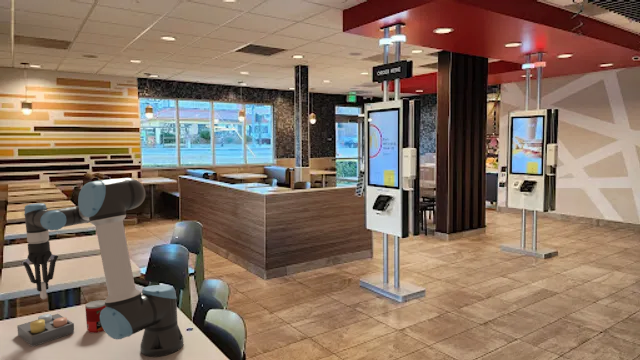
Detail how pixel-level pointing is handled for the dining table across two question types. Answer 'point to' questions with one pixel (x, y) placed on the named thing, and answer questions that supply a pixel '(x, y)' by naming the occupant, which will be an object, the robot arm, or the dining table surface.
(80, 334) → the dining table surface
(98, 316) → the canned food
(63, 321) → the salmon pink rounded dome
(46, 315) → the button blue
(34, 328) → the button mustard
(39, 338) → the button panel
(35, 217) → the robot arm
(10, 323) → the dining table surface
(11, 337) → the dining table surface
